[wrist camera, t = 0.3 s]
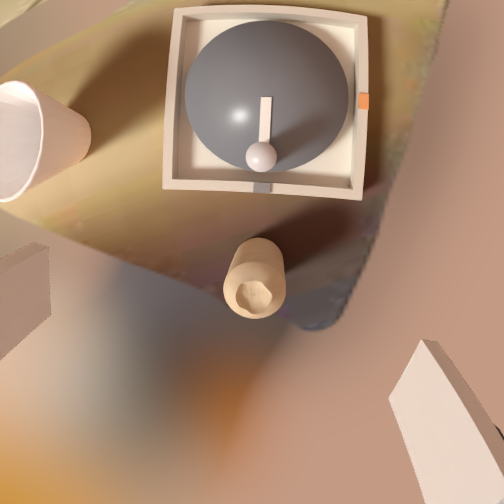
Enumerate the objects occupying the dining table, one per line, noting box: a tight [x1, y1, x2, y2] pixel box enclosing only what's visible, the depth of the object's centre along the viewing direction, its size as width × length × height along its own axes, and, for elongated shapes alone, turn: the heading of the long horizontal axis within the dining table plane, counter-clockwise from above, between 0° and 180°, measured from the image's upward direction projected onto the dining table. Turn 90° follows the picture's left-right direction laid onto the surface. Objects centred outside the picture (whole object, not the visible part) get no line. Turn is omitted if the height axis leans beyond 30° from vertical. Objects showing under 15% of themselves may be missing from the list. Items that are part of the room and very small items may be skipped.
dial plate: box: [163, 5, 369, 200], centre depth 30 cm, size 20×20×4 cm
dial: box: [185, 20, 349, 172], centre depth 26 cm, size 16×16×8 cm
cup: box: [0, 80, 91, 202], centre depth 28 cm, size 12×12×12 cm
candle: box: [224, 238, 286, 319], centre depth 32 cm, size 6×6×10 cm
